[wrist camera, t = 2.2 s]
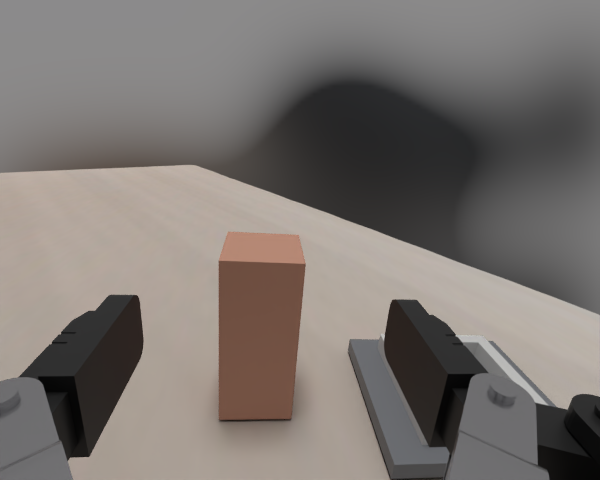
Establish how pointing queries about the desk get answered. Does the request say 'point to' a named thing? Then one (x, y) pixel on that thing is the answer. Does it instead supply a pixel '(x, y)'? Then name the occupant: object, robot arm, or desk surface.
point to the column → (259, 324)
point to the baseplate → (398, 416)
